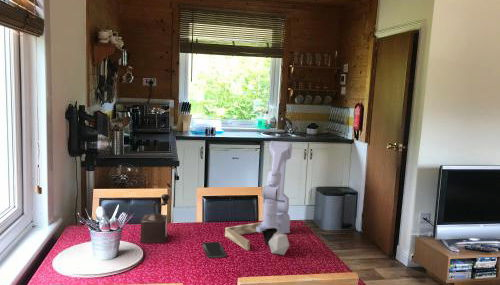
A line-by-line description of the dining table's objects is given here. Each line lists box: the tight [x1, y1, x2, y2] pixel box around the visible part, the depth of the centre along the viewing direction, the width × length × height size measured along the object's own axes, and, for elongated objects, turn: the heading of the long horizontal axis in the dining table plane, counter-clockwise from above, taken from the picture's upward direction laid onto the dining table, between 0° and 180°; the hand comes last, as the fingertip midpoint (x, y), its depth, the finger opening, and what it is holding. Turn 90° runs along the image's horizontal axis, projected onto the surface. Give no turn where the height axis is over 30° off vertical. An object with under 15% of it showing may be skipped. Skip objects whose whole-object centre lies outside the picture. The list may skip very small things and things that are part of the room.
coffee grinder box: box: [140, 193, 171, 244], centre depth 179 cm, size 16×11×18 cm
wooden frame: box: [224, 222, 282, 251], centre depth 183 cm, size 19×19×4 cm
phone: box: [201, 241, 227, 259], centre depth 168 cm, size 8×1×15 cm
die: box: [268, 233, 290, 256], centre depth 169 cm, size 8×9×10 cm
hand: (268, 244), depth 174 cm, fingers closed
